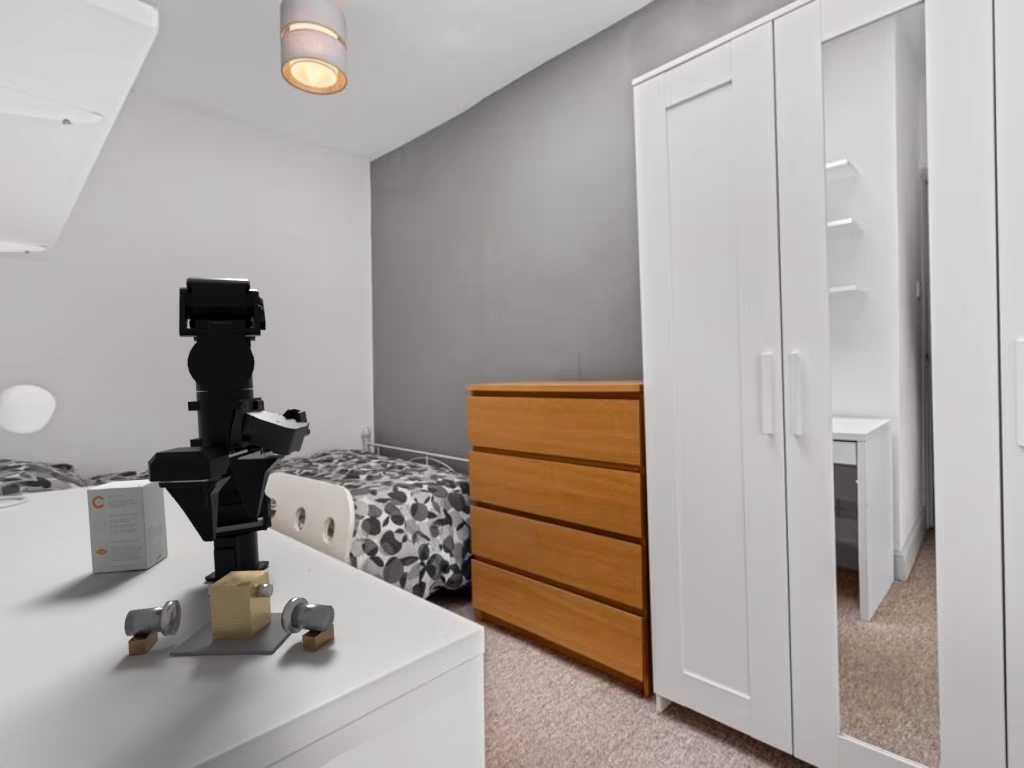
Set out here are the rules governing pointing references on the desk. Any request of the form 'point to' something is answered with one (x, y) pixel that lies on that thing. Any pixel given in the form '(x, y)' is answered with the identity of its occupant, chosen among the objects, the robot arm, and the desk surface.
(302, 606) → the shaft
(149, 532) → the small box
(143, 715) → the desk surface
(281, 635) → the mat
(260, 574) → the coupler
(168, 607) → the shaft
